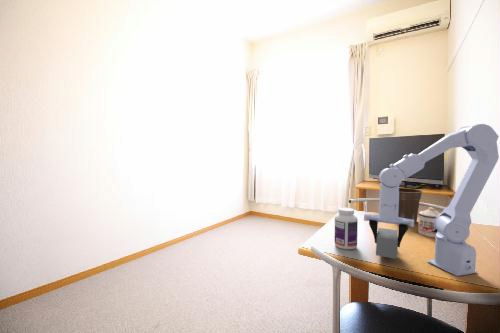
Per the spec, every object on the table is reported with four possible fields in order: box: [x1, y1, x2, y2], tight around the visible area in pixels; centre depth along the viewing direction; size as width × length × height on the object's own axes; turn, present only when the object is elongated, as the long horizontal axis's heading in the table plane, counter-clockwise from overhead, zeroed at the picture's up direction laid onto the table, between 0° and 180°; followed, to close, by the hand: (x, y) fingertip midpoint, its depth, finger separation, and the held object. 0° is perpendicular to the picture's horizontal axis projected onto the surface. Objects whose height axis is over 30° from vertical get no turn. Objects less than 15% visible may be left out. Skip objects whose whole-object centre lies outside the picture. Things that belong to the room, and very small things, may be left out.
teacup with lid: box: [417, 206, 442, 239], centre depth 106 cm, size 12×9×12 cm
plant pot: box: [398, 187, 424, 224], centre depth 128 cm, size 16×16×16 cm
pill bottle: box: [334, 207, 359, 250], centre depth 95 cm, size 8×8×14 cm
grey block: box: [375, 227, 399, 260], centre depth 84 cm, size 11×6×6 cm, turn 150°
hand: (387, 244), depth 84 cm, fingers closed on grey block, 6 cm apart
